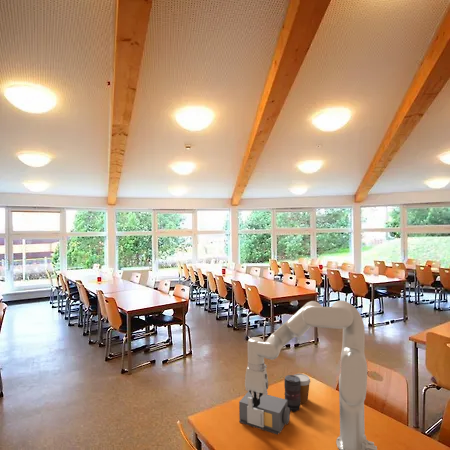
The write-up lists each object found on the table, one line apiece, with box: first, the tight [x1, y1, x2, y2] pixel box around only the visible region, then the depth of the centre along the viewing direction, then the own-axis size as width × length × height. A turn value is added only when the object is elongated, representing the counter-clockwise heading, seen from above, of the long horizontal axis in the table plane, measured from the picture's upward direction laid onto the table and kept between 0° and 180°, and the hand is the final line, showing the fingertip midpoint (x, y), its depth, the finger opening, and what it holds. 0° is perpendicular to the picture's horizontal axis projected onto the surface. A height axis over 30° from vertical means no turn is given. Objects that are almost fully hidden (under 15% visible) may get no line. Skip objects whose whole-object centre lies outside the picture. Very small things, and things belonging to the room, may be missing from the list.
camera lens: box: [283, 374, 301, 412], centre depth 156 cm, size 8×8×15 cm
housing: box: [238, 391, 291, 436], centre depth 145 cm, size 22×13×10 cm, turn 61°
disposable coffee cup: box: [293, 373, 311, 404], centre depth 162 cm, size 10×10×12 cm
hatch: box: [247, 397, 264, 428], centre depth 141 cm, size 8×1×12 cm, turn 61°
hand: (256, 405), depth 140 cm, fingers closed
